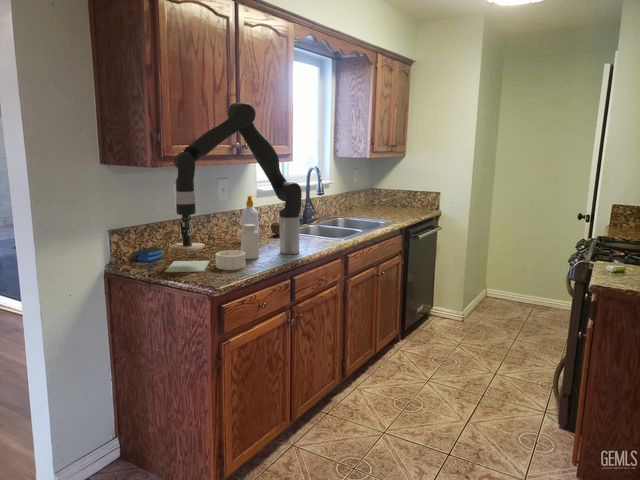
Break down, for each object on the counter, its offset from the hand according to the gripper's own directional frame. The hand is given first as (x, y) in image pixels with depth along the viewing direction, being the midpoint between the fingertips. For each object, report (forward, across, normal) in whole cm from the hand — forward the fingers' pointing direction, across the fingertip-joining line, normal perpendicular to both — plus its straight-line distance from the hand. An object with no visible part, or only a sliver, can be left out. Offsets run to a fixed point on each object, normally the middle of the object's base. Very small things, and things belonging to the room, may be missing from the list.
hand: (187, 243), depth 200 cm
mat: (+10, 0, 0) cm, 10 cm away
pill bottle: (+10, +16, -24) cm, 31 cm away
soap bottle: (+10, +57, -23) cm, 62 cm away
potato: (+10, +71, -38) cm, 81 cm away
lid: (+2, 0, 0) cm, 2 cm away
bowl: (+10, 0, -18) cm, 20 cm away
